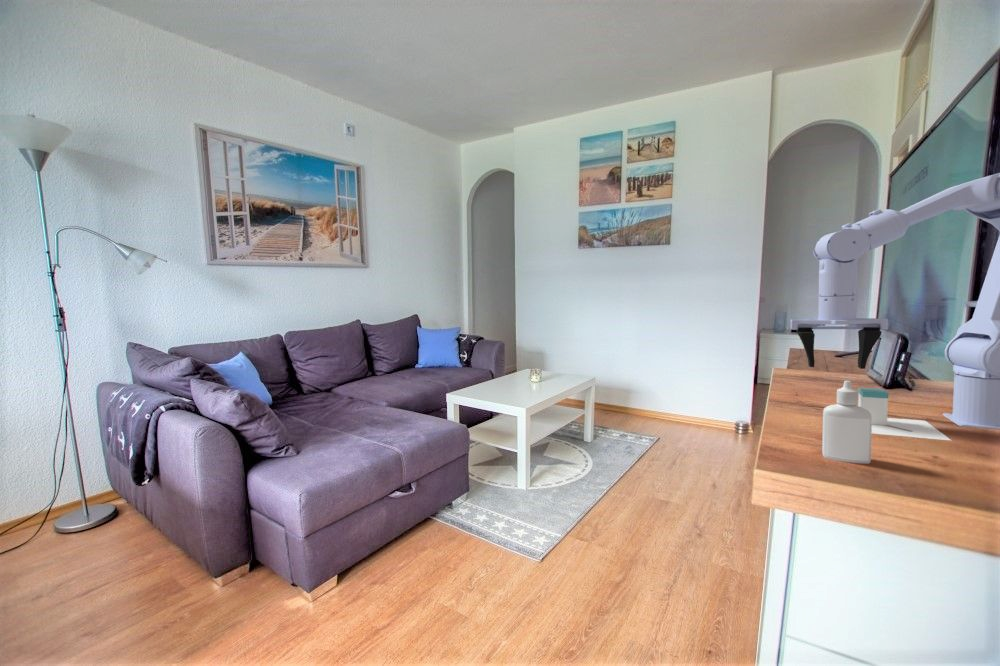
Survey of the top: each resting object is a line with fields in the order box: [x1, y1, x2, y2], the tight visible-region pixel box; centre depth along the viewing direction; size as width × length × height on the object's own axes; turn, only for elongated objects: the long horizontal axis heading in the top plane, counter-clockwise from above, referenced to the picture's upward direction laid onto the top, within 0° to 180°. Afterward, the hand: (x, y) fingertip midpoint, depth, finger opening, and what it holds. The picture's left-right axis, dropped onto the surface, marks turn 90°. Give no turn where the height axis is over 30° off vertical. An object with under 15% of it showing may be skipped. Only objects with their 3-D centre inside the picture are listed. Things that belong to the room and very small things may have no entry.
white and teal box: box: [857, 387, 890, 425], centre depth 81 cm, size 4×4×6 cm
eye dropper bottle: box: [821, 380, 873, 465], centre depth 65 cm, size 4×6×12 cm
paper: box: [871, 417, 953, 441], centre depth 78 cm, size 12×12×1 cm
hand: (835, 367), depth 83 cm, fingers open, 7 cm apart
